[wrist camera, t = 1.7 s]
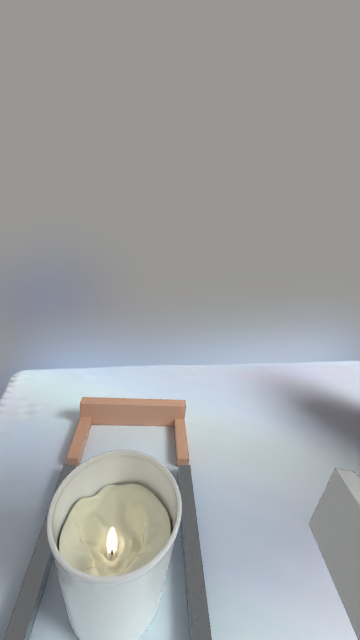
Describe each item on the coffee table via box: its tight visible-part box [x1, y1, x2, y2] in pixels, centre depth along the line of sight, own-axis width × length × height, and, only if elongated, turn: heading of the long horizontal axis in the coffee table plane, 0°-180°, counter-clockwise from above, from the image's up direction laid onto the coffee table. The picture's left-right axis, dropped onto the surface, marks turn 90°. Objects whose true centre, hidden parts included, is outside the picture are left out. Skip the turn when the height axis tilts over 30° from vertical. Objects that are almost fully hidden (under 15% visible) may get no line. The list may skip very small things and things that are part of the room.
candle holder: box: [47, 450, 182, 640], centre depth 24 cm, size 10×10×12 cm
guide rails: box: [4, 465, 212, 640], centre depth 29 cm, size 16×17×2 cm
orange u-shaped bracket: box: [66, 397, 189, 467], centre depth 42 cm, size 16×9×4 cm, turn 94°
